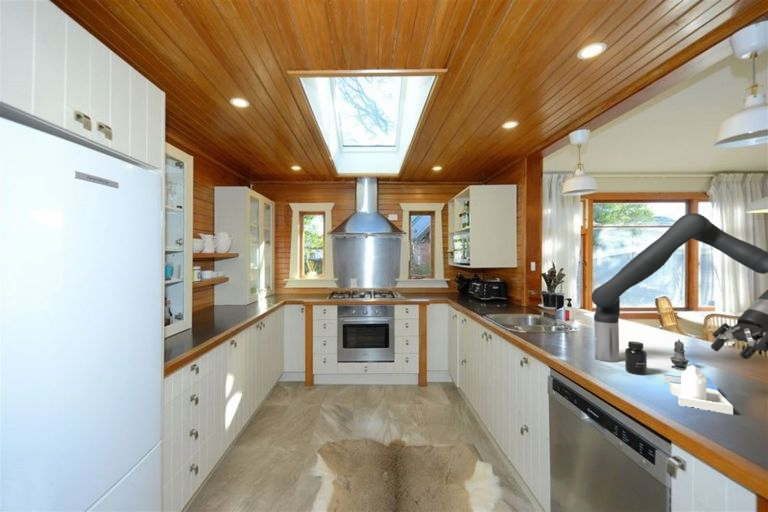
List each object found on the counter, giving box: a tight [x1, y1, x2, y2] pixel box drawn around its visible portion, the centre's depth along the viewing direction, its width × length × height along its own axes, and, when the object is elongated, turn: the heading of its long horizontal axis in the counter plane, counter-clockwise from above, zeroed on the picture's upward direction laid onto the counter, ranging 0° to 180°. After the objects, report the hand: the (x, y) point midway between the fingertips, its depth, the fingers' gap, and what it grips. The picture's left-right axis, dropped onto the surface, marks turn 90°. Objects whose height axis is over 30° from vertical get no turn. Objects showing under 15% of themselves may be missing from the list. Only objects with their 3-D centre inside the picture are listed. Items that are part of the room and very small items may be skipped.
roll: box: [680, 365, 707, 400], centre depth 103 cm, size 6×12×6 cm
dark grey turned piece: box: [669, 339, 690, 371], centre depth 135 cm, size 6×6×12 cm
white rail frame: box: [663, 374, 734, 415], centre depth 108 cm, size 12×23×4 cm, turn 148°
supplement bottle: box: [624, 341, 648, 376], centre depth 131 cm, size 7×7×12 cm
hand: (727, 353), depth 103 cm, fingers open, 8 cm apart
